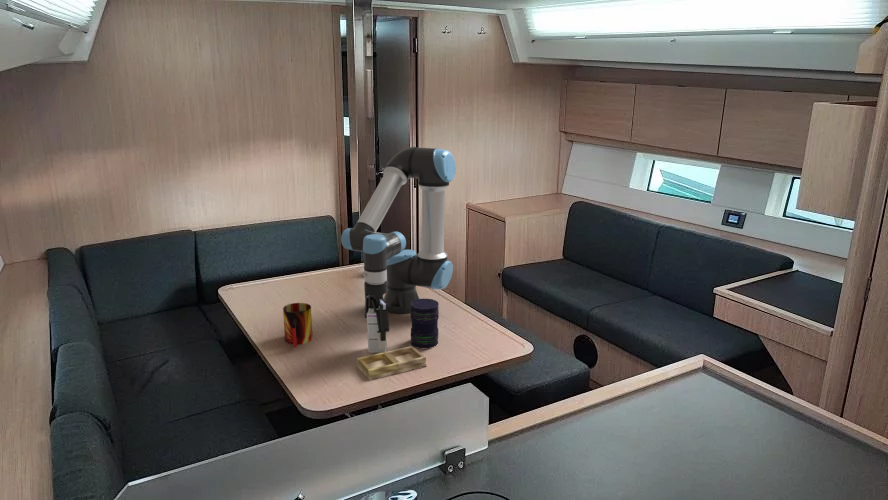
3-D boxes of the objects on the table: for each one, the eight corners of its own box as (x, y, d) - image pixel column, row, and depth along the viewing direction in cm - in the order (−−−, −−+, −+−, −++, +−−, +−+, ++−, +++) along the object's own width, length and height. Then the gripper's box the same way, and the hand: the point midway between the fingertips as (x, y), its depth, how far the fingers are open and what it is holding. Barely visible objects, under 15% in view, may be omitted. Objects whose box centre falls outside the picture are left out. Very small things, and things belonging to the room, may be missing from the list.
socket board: (411, 353, 221) (411, 345, 220) (426, 366, 212) (426, 358, 211) (356, 365, 211) (356, 357, 210) (370, 380, 202) (369, 371, 201)
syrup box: (385, 353, 219) (384, 313, 215) (367, 352, 219) (366, 313, 215) (386, 345, 224) (386, 306, 220) (369, 345, 224) (368, 306, 220)
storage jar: (428, 351, 223) (428, 310, 218) (405, 344, 228) (404, 304, 223) (443, 341, 231) (444, 302, 227) (420, 334, 236) (421, 296, 232)
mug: (293, 351, 221) (292, 319, 218) (281, 336, 232) (279, 305, 229) (320, 345, 226) (319, 313, 223) (307, 331, 237) (305, 301, 234)
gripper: (353, 273, 221) (355, 335, 228) (377, 292, 204) (379, 358, 211) (373, 270, 224) (375, 330, 231) (399, 288, 208) (400, 353, 214)
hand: (377, 343), depth 221 cm, fingers closed on syrup box, 7 cm apart
